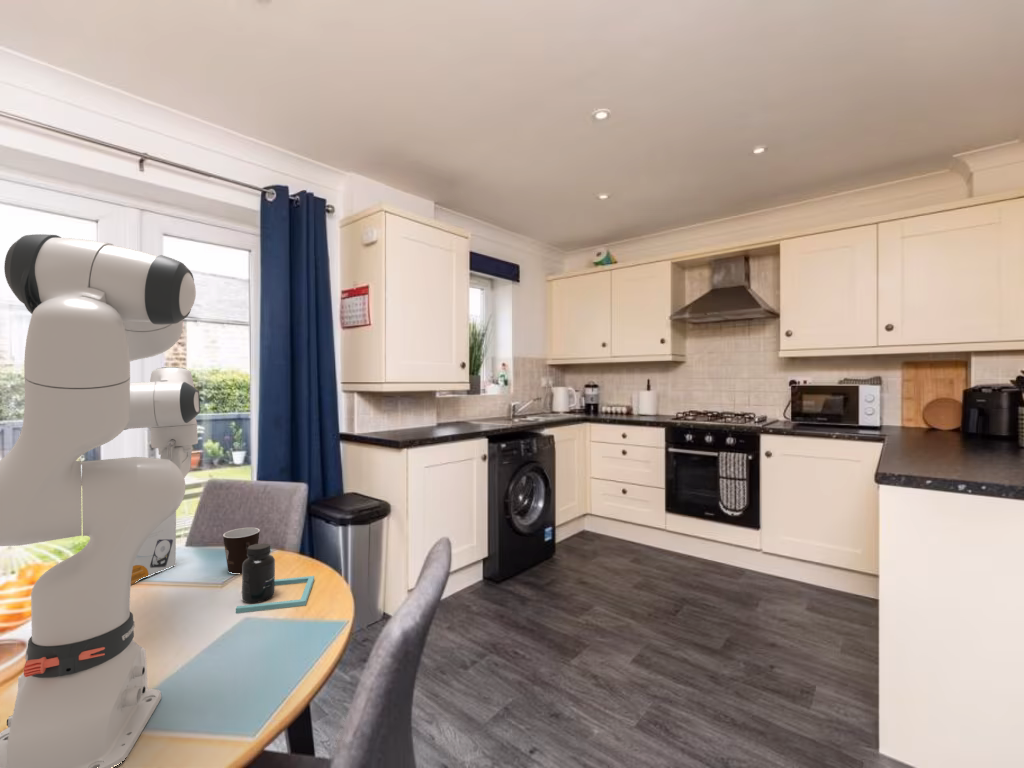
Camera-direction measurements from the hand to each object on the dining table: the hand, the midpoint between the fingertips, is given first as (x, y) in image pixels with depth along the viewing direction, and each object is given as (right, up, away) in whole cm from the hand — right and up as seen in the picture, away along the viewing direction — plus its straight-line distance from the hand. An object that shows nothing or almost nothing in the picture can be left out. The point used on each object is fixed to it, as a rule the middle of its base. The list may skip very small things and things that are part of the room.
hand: (177, 498), depth 111 cm
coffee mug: (+5, -24, +17) cm, 30 cm away
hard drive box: (-20, -24, +15) cm, 34 cm away
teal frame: (+21, -24, +3) cm, 32 cm away
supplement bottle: (+17, -24, +2) cm, 30 cm away
